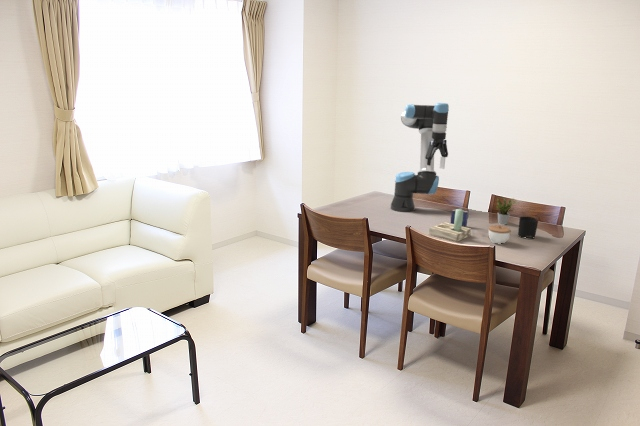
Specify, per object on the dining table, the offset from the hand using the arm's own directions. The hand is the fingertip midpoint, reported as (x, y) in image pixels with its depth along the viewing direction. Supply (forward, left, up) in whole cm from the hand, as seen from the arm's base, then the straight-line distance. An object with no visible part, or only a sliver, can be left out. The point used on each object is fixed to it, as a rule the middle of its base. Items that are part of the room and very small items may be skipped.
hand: (435, 169), depth 288 cm
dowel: (+11, +23, -31) cm, 40 cm away
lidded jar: (+2, +42, -32) cm, 53 cm away
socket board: (+11, +19, -32) cm, 39 cm away
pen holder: (-20, +48, -32) cm, 61 cm away
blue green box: (-9, +13, -32) cm, 36 cm away
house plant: (-35, +29, -32) cm, 56 cm away
